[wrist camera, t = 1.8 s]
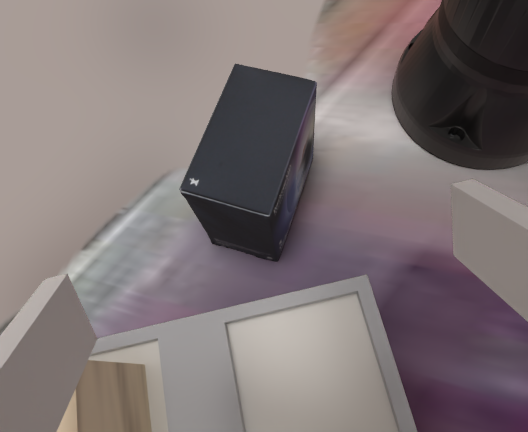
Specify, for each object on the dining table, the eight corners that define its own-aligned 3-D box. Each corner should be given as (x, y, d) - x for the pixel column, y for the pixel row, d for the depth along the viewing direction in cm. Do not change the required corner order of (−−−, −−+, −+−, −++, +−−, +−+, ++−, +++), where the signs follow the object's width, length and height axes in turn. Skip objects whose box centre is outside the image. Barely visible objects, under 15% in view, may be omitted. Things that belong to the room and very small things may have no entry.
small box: (282, 265, 34) (272, 220, 24) (209, 243, 35) (172, 192, 26) (317, 156, 37) (321, 78, 28) (249, 139, 39) (230, 59, 29)
